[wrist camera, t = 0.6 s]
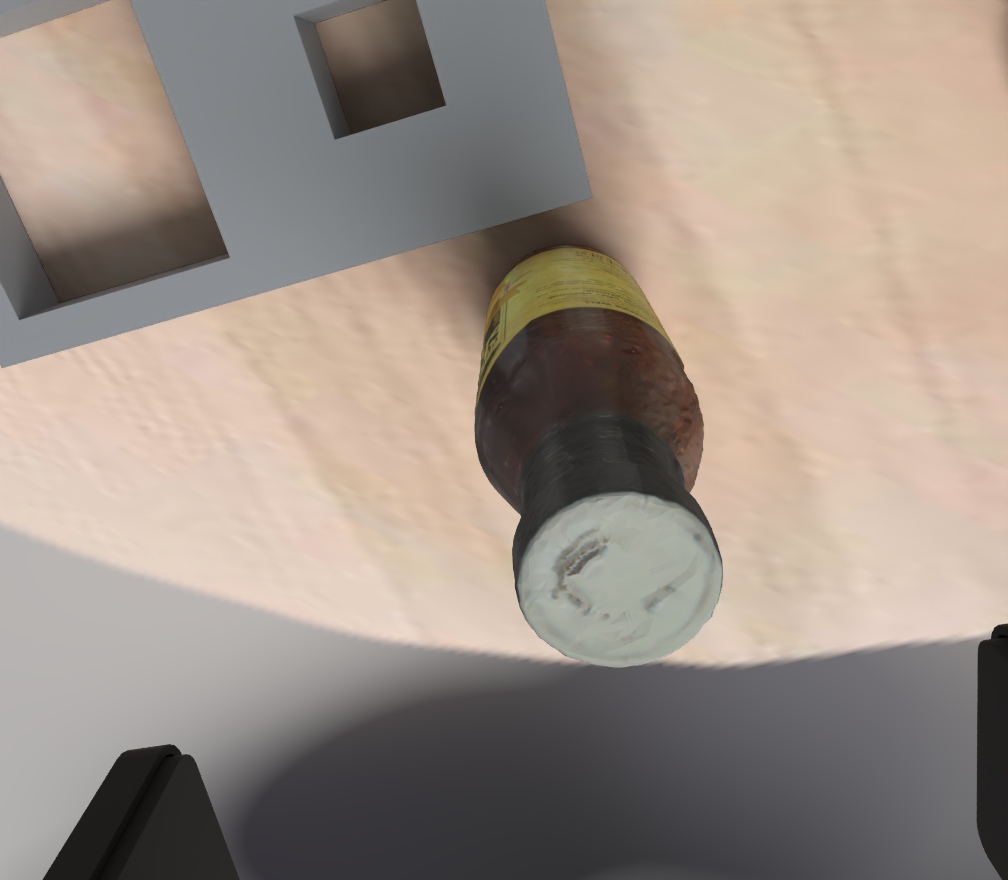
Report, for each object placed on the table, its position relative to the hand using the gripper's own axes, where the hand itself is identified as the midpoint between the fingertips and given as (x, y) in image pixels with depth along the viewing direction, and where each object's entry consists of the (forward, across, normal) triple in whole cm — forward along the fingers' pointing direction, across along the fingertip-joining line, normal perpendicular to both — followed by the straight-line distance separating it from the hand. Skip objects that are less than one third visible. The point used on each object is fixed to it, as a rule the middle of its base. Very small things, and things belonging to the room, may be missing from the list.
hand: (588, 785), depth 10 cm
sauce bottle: (+26, -1, 0) cm, 26 cm away
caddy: (+26, +9, -10) cm, 30 cm away
